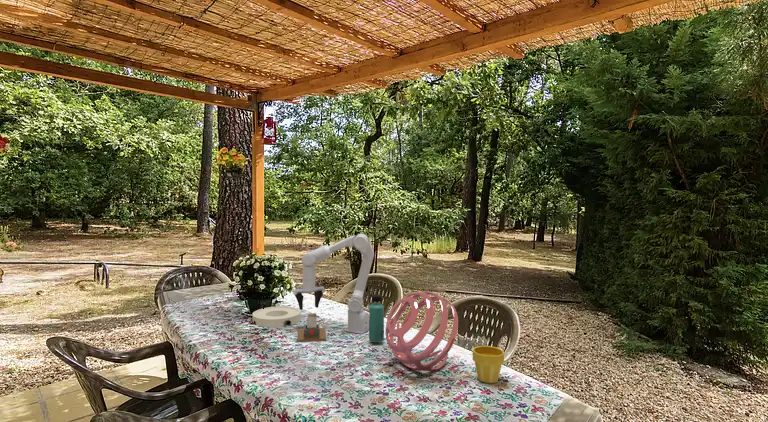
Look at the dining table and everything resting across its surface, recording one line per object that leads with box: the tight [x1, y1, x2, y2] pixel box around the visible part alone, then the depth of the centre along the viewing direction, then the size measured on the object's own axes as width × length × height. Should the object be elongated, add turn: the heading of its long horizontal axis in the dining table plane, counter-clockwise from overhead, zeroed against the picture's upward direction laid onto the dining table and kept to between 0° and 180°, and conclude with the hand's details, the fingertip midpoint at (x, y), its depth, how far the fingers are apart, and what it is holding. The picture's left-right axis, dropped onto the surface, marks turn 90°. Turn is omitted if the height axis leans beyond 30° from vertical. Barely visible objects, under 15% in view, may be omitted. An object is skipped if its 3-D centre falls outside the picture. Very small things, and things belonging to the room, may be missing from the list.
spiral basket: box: [385, 291, 459, 372], centre depth 152 cm, size 28×28×27 cm
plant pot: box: [472, 345, 505, 384], centre depth 141 cm, size 10×10×10 cm
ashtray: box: [251, 306, 302, 328], centre depth 206 cm, size 23×23×4 cm
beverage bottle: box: [368, 294, 385, 343], centre depth 175 cm, size 6×7×20 cm
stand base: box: [296, 323, 327, 343], centre depth 183 cm, size 14×12×4 cm
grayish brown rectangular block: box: [306, 313, 318, 329], centre depth 182 cm, size 4×4×8 cm
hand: (308, 308), depth 192 cm, fingers open, 7 cm apart
